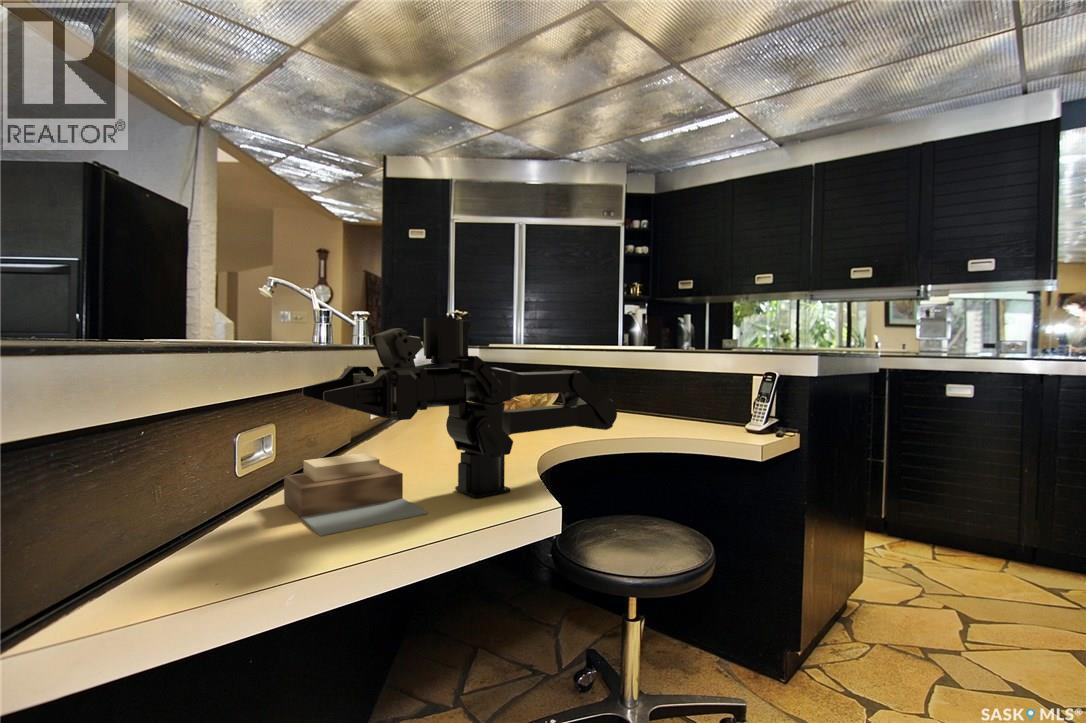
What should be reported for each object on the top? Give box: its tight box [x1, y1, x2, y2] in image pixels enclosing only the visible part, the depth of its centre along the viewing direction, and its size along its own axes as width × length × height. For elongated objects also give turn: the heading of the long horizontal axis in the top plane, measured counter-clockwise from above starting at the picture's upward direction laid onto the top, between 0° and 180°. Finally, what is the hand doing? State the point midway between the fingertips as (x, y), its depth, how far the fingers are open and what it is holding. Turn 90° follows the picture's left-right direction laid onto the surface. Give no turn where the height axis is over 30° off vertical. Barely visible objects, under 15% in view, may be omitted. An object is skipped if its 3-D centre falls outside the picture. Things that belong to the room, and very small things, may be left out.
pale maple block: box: [303, 452, 381, 482], centre depth 77 cm, size 9×6×2 cm, turn 129°
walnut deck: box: [283, 463, 404, 519], centre depth 77 cm, size 14×9×4 cm, turn 129°
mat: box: [300, 498, 428, 537], centre depth 70 cm, size 14×8×1 cm, turn 129°
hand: (312, 393), depth 67 cm, fingers open, 9 cm apart
